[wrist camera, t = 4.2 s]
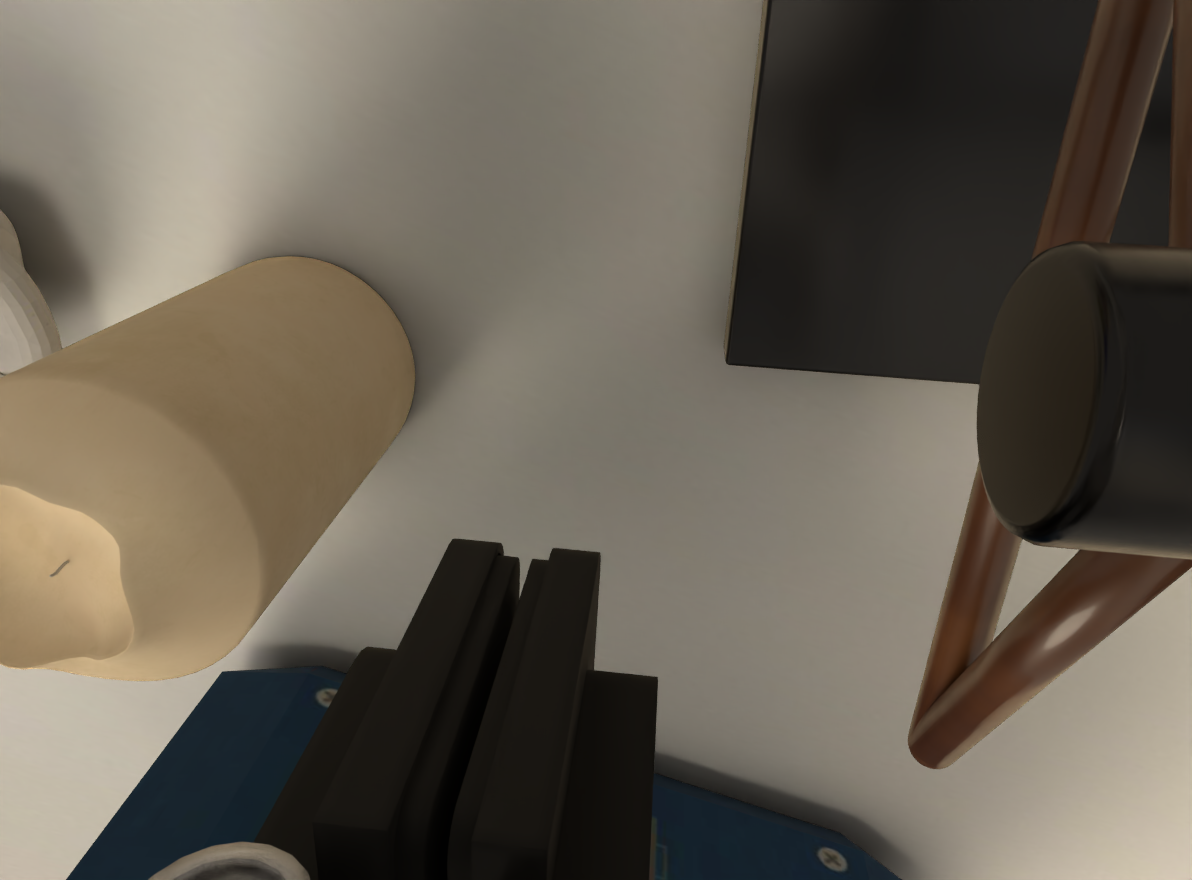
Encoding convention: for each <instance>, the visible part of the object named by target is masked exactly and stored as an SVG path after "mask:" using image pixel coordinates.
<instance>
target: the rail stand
mask: <svg viewBox="0 0 1192 880" xmlns="http://www.w3.org/2000/svg"><path fill="white" fill-rule="evenodd" d="M1097 3H1098V0H763V8H762V17H761V26H760V34H759V43H758V52H757V60H756V69H755V78H754V86H753V95H752V104H751V112H750V121H749V130H748V138H747V147H746V156H745V164H744V173H743V182H742V190H741V199H740V208H739V216H738V225H737V234H736V243H735V251H734V260H733V269H732V277H731V286H730V295H729V303H728V312H727V321H726V329H725V338H724V354H725V361H726V364H728V365H735V366H748V367H761V368H774V369H787V370H800V371H813V372H826V373H839V374H852V375H865V376H878V377H891V378H904V379H917V380H930V381H943V382H956V383H969V384H980V385H979V393H978V405H977V443H978V454H979V462H980V469H981V475H982V479H983V484H984V488H985V491H986V494H987V497H988V500H989V502H990V505H991V507H992V509H993V511H994V513H995V515H996V517H997V518H998V520H999V521H1000V522H1001V524H1002V525H1003V526H1004V527H1005V528H1006V529H1007V530H1008V531H1009V532H1011V533H1012V534H1014V535H1016V536H1018V537H1020V538H1022V539H1024V540H1026V541H1028V542H1030V543H1032V544H1034V545H1039V546H1045V547H1056V548H1067V549H1079V550H1090V551H1101V552H1112V553H1124V554H1135V555H1146V556H1158V557H1169V558H1180V559H1192V248H1184V247H1169V200H1170V151H1171V102H1172V53H1173V27H1172V31H1171V34H1170V38H1169V41H1168V44H1167V48H1166V51H1165V55H1164V58H1163V61H1162V65H1161V68H1160V72H1159V75H1158V78H1157V82H1156V85H1155V89H1154V92H1153V95H1152V99H1151V102H1150V106H1149V109H1148V113H1147V116H1146V119H1145V123H1144V126H1143V130H1142V133H1141V136H1140V140H1139V143H1138V147H1137V150H1136V153H1135V157H1134V160H1133V164H1132V167H1131V170H1130V174H1129V177H1128V181H1127V184H1126V187H1125V191H1124V194H1123V198H1122V201H1121V204H1120V208H1119V211H1118V215H1117V218H1116V221H1115V225H1114V228H1113V232H1112V235H1111V238H1110V242H1109V243H1108V242H1093V241H1072V242H1068V243H1065V244H1061V245H1058V246H1055V247H1052V248H1049V249H1047V250H1045V251H1043V252H1041V253H1040V254H1038V255H1037V256H1036V257H1035V258H1033V259H1032V260H1031V258H1032V254H1033V250H1034V247H1035V243H1036V239H1037V235H1038V231H1039V227H1040V223H1041V219H1042V216H1043V212H1044V208H1045V204H1046V200H1047V196H1048V192H1049V189H1050V185H1051V181H1052V177H1053V173H1054V169H1055V165H1056V161H1057V158H1058V154H1059V150H1060V146H1061V142H1062V138H1063V134H1064V131H1065V127H1066V123H1067V119H1068V115H1069V111H1070V107H1071V103H1072V100H1073V96H1074V92H1075V88H1076V84H1077V80H1078V76H1079V73H1080V69H1081V65H1082V61H1083V57H1084V53H1085V49H1086V45H1087V42H1088V38H1089V34H1090V30H1091V26H1092V22H1093V18H1094V15H1095V11H1096V7H1097Z"/></svg>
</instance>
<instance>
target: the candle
mask: <svg viewBox="0 0 1192 880" xmlns="http://www.w3.org/2000/svg"><path fill="white" fill-rule="evenodd" d="M414 389H415V367H414V360H413V355H412V350H411V347H410V344H409V341H408V338H407V336H406V334H405V332H404V330H403V328H402V325H401V323H400V322H399V320H398V319H397V317H396V316H395V314H394V312H393V311H392V310H391V308H390V307H389V306H388V305H387V303H386V302H385V301H384V300H383V299H382V298H381V297H380V296H379V295H378V294H377V293H376V292H375V291H374V290H373V289H372V288H371V287H370V286H368V285H367V284H366V283H365V282H363V281H362V280H361V279H359V278H358V277H356V276H354V275H353V274H351V273H349V272H348V271H346V270H344V269H342V268H340V267H337V266H335V265H333V264H330V263H327V262H324V261H320V260H317V259H312V258H306V257H294V256H285V257H274V258H266V259H262V260H258V261H253V262H251V263H248V264H246V265H244V266H241V267H239V268H236V269H234V270H231V271H229V272H227V273H224V274H222V275H220V276H218V277H216V278H213V279H211V280H209V281H207V282H205V283H203V284H201V285H198V286H196V287H194V288H192V289H190V290H188V291H185V292H183V293H181V294H179V295H177V296H175V297H173V298H170V299H168V300H166V301H164V302H162V303H160V304H158V305H155V306H153V307H151V308H149V309H147V310H145V311H143V312H140V313H138V314H136V315H134V316H132V317H130V318H128V319H125V320H123V321H121V322H119V323H117V324H115V325H113V326H110V327H108V328H106V329H104V330H102V331H100V332H98V333H95V334H93V335H91V336H89V337H87V338H85V339H83V340H80V341H78V342H76V343H74V344H72V345H70V346H68V347H65V348H63V349H61V350H59V351H57V352H55V353H53V354H50V355H48V356H46V357H44V358H42V359H40V360H38V361H35V362H33V363H31V364H29V365H27V366H25V367H23V368H20V369H18V370H16V371H14V372H12V373H10V374H8V375H5V376H3V377H1V378H0V664H1V665H4V666H6V667H8V668H15V669H23V670H24V669H35V668H36V669H51V670H57V671H64V672H69V673H73V674H79V675H85V676H92V677H98V678H104V679H115V680H128V681H157V680H165V679H172V678H178V677H181V676H185V675H188V674H192V673H195V672H198V671H200V670H202V669H204V668H206V667H209V666H211V665H213V664H214V663H216V662H217V661H219V660H220V659H222V658H223V657H225V656H226V655H227V654H228V653H230V652H231V651H232V650H233V649H234V648H235V647H236V646H237V645H238V644H239V643H240V642H241V640H242V639H243V638H244V637H245V635H246V634H247V633H248V631H249V630H250V629H251V628H252V626H253V625H254V624H255V622H256V621H257V620H258V618H259V617H260V616H261V615H262V613H263V612H264V611H265V609H266V608H267V607H268V605H269V604H270V603H271V601H272V600H273V599H274V597H275V596H276V595H277V594H278V592H279V591H280V590H281V588H282V587H283V586H284V584H285V583H286V582H287V580H288V579H289V578H290V576H291V575H292V574H293V572H294V571H295V570H296V569H297V567H298V566H299V565H300V563H301V562H302V561H303V559H304V558H305V557H306V555H307V554H308V553H309V551H310V550H311V549H312V547H313V546H314V545H315V543H316V542H317V541H318V540H319V538H320V537H321V536H322V534H323V533H324V532H325V530H326V529H327V528H328V526H329V525H330V524H331V522H332V521H333V520H334V518H335V517H336V516H337V515H338V513H339V512H340V511H341V509H342V508H343V507H344V505H345V504H346V503H347V501H348V500H349V499H350V497H351V496H352V495H353V493H354V492H355V491H356V490H357V488H358V487H359V486H360V484H361V483H362V482H363V480H364V479H365V478H366V476H367V475H368V474H369V472H370V471H371V470H372V468H373V467H374V466H375V465H376V463H377V462H378V461H379V459H380V458H381V457H382V455H383V454H384V453H385V451H386V450H387V449H388V447H389V446H390V445H391V443H392V442H393V440H394V439H395V437H396V436H397V435H398V433H399V432H400V430H401V428H402V426H403V424H404V423H405V421H406V418H407V415H408V413H409V410H410V407H411V404H412V399H413V395H414Z"/></svg>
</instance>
